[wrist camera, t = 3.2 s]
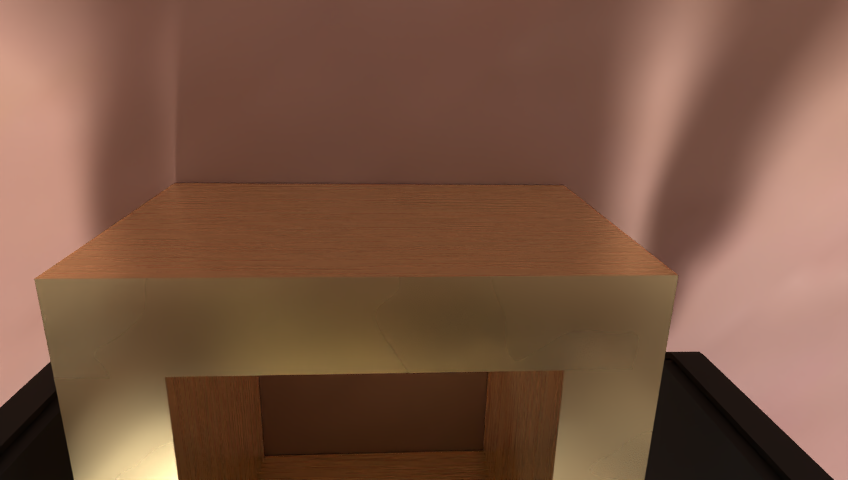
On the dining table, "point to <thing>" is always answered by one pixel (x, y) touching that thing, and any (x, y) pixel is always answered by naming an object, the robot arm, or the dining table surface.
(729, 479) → the robot arm
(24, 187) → the dining table surface
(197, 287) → the collar
